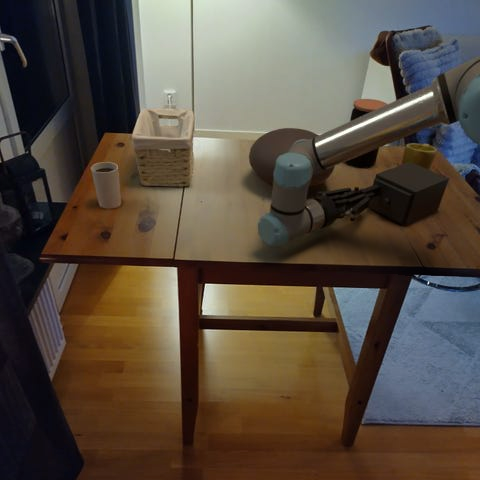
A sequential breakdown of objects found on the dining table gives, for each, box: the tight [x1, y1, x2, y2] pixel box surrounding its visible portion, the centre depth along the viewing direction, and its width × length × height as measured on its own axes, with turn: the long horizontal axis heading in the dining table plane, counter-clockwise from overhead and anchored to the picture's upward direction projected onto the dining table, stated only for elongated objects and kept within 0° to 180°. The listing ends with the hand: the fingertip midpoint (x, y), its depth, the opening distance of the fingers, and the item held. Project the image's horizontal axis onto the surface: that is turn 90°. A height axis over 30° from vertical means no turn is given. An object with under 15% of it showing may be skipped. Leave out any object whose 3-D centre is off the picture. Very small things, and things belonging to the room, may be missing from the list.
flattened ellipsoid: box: [248, 127, 336, 189], centre depth 132 cm, size 25×25×15 cm
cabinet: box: [368, 162, 450, 227], centre depth 124 cm, size 15×13×10 cm
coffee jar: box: [344, 98, 389, 169], centre depth 145 cm, size 11×11×18 cm
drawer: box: [368, 178, 412, 224], centre depth 123 cm, size 15×11×8 cm
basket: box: [131, 108, 195, 188], centre depth 135 cm, size 24×16×15 cm
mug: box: [401, 142, 437, 171], centre depth 145 cm, size 12×10×10 cm
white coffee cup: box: [90, 161, 122, 210], centre depth 120 cm, size 7×7×10 cm
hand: (376, 190), depth 121 cm, fingers closed
